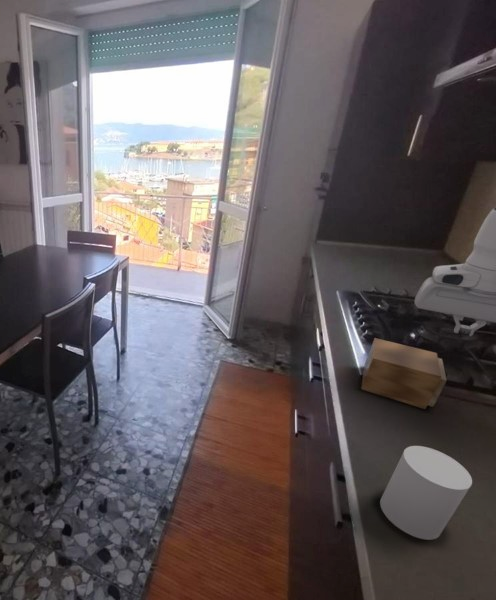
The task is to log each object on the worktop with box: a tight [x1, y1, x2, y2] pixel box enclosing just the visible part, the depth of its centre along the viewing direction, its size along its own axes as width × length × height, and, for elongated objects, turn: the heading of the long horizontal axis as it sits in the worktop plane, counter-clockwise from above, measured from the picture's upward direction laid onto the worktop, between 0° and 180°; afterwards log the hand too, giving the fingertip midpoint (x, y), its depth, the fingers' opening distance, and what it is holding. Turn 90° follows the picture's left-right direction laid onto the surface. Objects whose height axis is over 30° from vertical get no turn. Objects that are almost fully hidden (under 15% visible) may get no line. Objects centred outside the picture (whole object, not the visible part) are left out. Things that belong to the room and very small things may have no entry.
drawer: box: [427, 357, 447, 407], centre depth 88 cm, size 13×10×8 cm
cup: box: [379, 445, 473, 541], centre depth 59 cm, size 8×8×12 cm
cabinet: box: [360, 337, 441, 410], centre depth 90 cm, size 13×12×10 cm
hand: (462, 333), depth 82 cm, fingers closed
